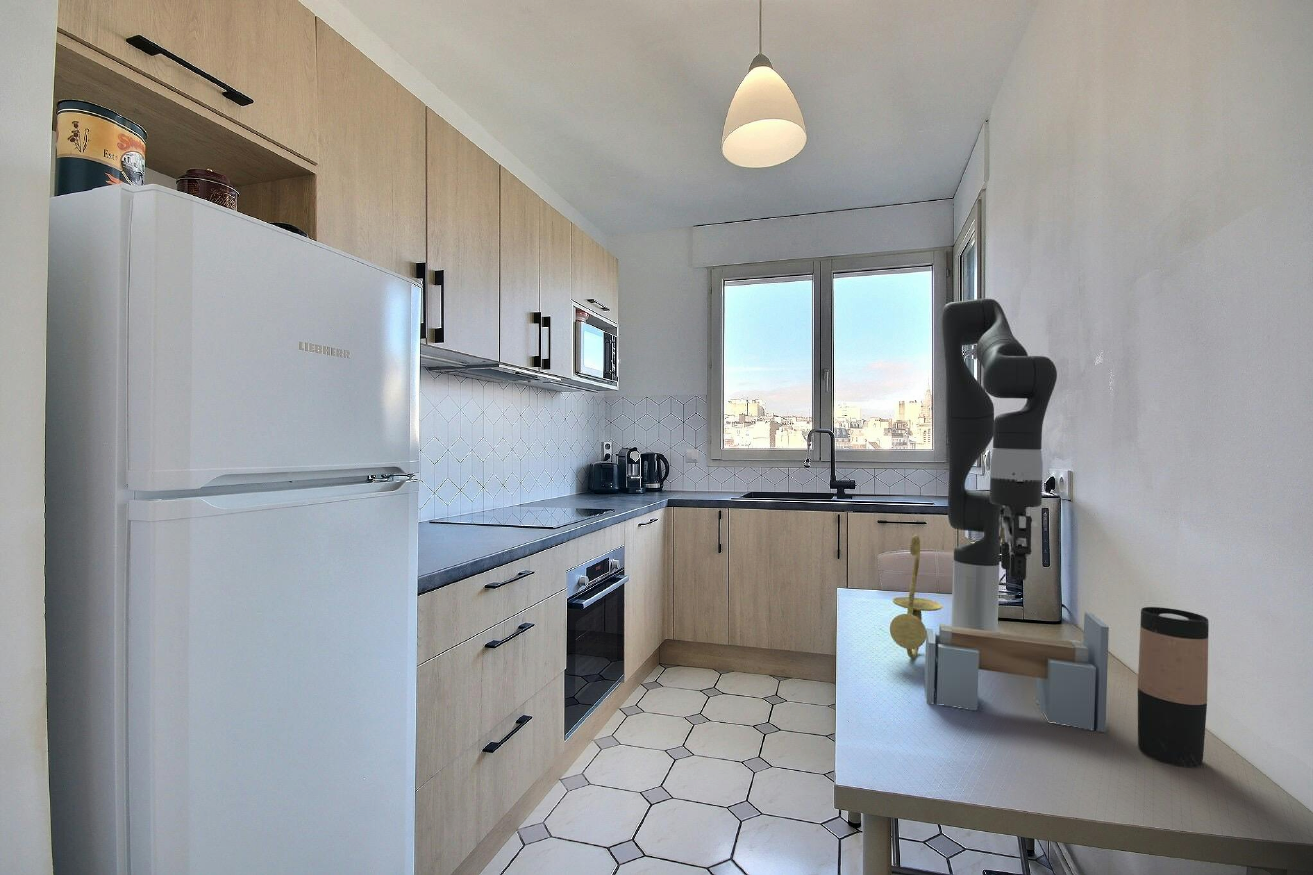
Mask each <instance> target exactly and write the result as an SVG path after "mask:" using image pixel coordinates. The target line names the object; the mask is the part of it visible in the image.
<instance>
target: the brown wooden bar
mask: <svg viewBox="0 0 1313 875" xmlns="http://www.w3.org/2000/svg"><path fill="white" fill-rule="evenodd" d="M938 631H939V632H938V633H939V644H942V645H950V646H957V647H965V648H972V649H978V651H979V670H981V671H989V672H996V673H1003V674H1010V675H1015V676H1016V675H1017V676H1024V677H1032V678H1036V679H1037V678H1043V679H1047V670H1048V659H1054V660H1062V661H1069V662H1076V663H1084V664H1087V652H1088V648H1087V647H1086V646H1085V645H1084V642H1082V640H1075V639H1068V640H1065V639H1058V638H1056V639H1055V638H1049V637H1041V636H1031V635H1023V634H1016V633H1007V632H1000V631H999V632H998V631H997V632H993V631H985V630H977V629H969V628H961V627H953V626H951V624H948V623H947V624H946V623H939V630H938Z"/></svg>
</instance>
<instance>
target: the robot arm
mask: <svg viewBox="0 0 1313 875" xmlns="http://www.w3.org/2000/svg"><path fill="white" fill-rule="evenodd" d="M941 314H942V316H941V318H942V319H941V330H942V342H943V352H944V360H945V371H946V431H947V433H946V434H947V444H948V445H947V446H948V448H947V449H948V489H947V490H948V492H947V516H948V522H949V525H950V527H951V528H953V529H954V530H958V531H967V532H978V533H983V537H982V538H980V539H979V540H977V541H975V542H972V543H968V544H962V545H958V546H956V547H955V548H954V550H953V564H952V565H953V567H952V569H953V570H952V594H951V595H952V600H951V603H952V604H951V622H950V626H953V627H961V628H969V629H977V630H985V631H993V632H998V627H999V626H998V625H999V624H998V623H999V620H998V619H999V596H1000V595H999V594H1000V568H1002V569H1003V570H1007V571H1009V578H1010V579H1011V580H1014V581H1025V580H1026V579H1027V558H1029V555H1031V554H1032V522H1033V519H1032V516H1030V515H1027V509H1028V508H1038V507H1041V505H1042V502H1043V500H1042V498H1043V475H1044V474H1043V472H1044V471H1043V470H1044V468H1043V467H1044V466H1043V465H1044V464H1043V461H1044V460H1043V455H1042V446H1043V445H1042V441H1043V439H1042V438H1043V424H1044V420H1045V415H1046V412H1047V409H1048V406H1049V403H1050V399H1051V397H1052V395H1053V391H1054V389H1055V388H1056V387H1055V386H1056V384H1057V378H1058V371H1057V368H1056V365H1055V363H1054V362H1053V360H1051V358H1049V357H1048V356H1044V355H1028V354H1029V353H1028V351H1027V350H1026V349H1025V346H1023V345H1022V344H1021V343H1020V341H1018V339H1016V338H1015V336H1014V335H1013V334H1014V333H1012V330H1011V327H1010V324H1009V322H1008V319H1007V316H1006V314H1005V312H1004V310H1003V308H1002V306H1001V305H1000V303H999V302H998V301H997V300H996V299H993V298H988V297H987V298H978V299H977V298H976V299H968V300H967V299H966V300H960V301H953V302H951V301H950V302H948V303H947V304H945V305H944V307H943V309H942V313H941ZM969 345H976V348H975V349H976V350H975V352H976V357H977V359H978V362H979V363H980V365H981V366H982V367H983V369H984V372H983V378H982V379H983V380H982V381H983V382H982V383H983V385H981V384H980V383H979V382H978V380H977V378H975V376H974V375H973V372H971V370H970V368H969V367H968V365H967V363H966V361H965V358H964V355H963V350H962V347H963V346H969ZM990 396H991V397H993V398H997V399H1026V402H1025V405H1024V406H1023V407H1022V409H1020V410H1017V411H1012V412H1005V413H1000V414H998V415H996V416H995V404H994V402H993V400H992V398H991V397H990ZM991 442H992V452H991V453H992V454H991V457H990V458H991V459H990V475H989V476H990V477H989V479H990V480H989V490H978V489H977V490H974V489H966V481H967V477H968V475H969V474H970V471H971V469H972V468H973V467H974V465H975V463H976V462H977V460H978V459H979V458H980V456H982V454H983V453H984V452H985V450H986V449H987V448H988V446H989V445H990V444H991ZM1000 555H1001V556H1000Z"/></svg>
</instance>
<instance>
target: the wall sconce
mask: <svg viewBox="0 0 1313 875" xmlns="http://www.w3.org/2000/svg"><path fill="white" fill-rule="evenodd" d="M909 549H910V555H911V556H913V557H914V561H913V566H912V572H911V573H912V574H911V579H910V586H909V594H908V596H898V597H895V598H893V599H892V603H893V604H894V605H896V606H898V607H901V608H903V609H907V611H906V613H901V614H898V615H896V616H895V617H893V619H892V620H891V622H890V625H889V634H890V637H891V638H892V640H893V642H895V643H896V644H897V645H898V646H899V647H900V648H903V649H906V652H907V656H908V658H910V659H915V657H916V656H917V654H918V652H919V649H920V647H921V646H923V645H924V643H926V628H927V627H926V626H925V624H924V623H923V620H922V619H923V618H922V611H923V612H926V611H927V612H935V611H940V610H942V609H943V607H944V606H943V605H942V603H940V602H937V601H934V600H931V599H926V598H921V597H915V593H916V584H917V580H918V579H917V578H918V572H919V566H920V558H921V541H920V536H919V535H918V534H913V536H912V537H911V540H910V547H909Z"/></svg>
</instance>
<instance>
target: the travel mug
mask: <svg viewBox="0 0 1313 875" xmlns="http://www.w3.org/2000/svg"><path fill="white" fill-rule="evenodd" d="M1139 622H1140V625H1139V626H1140V627H1139V648H1138V649H1139V650H1138V669H1137V670H1138V672H1137V673H1138V674H1137V743H1138V744H1137V745H1138V746H1137V747H1138V749H1139V750H1140V752H1142V753H1143V754H1145V755H1146V756H1148V757H1150V758H1152V759H1154V760H1156V761H1159V762H1162V763H1165V764H1168V765H1172V766H1177V767H1181V768H1182V767H1183V768H1199V767H1201V766H1202V765H1203V762H1204V761H1203V759H1204V753H1205V751H1204V749H1205V738H1206V737H1205V736H1206V735H1205V734H1206V722H1207V709H1208V682H1209V681H1208V680H1209V678H1208V677H1209V676H1208V674H1209V672H1208V671H1209V632H1210V631H1209V630H1210V629H1209V618H1208V617H1206V616H1204V615H1202V614H1199V613H1195V612H1190V611H1186V610H1182V609H1175V608H1168V607H1159V606H1157V607H1156V606H1146V607H1142V608H1141V609H1140V621H1139Z"/></svg>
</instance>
